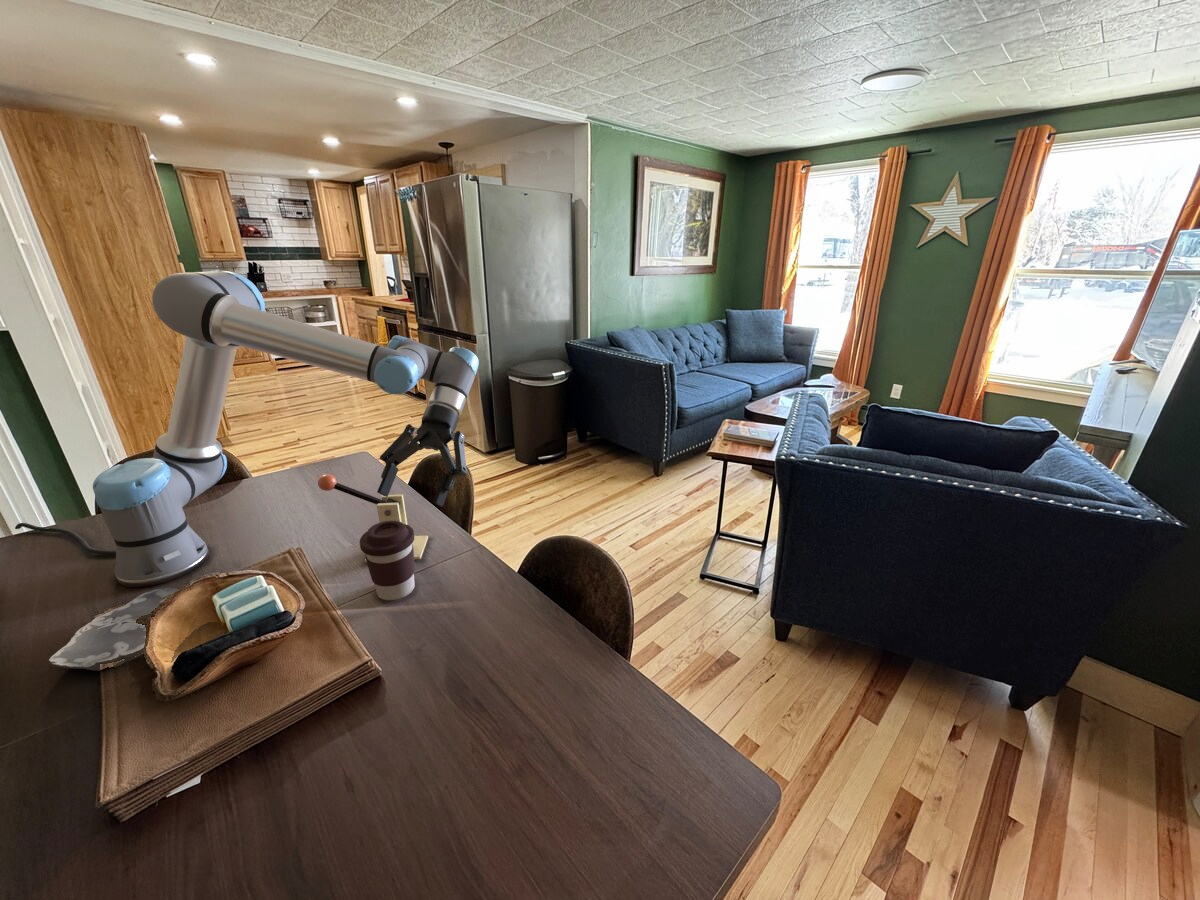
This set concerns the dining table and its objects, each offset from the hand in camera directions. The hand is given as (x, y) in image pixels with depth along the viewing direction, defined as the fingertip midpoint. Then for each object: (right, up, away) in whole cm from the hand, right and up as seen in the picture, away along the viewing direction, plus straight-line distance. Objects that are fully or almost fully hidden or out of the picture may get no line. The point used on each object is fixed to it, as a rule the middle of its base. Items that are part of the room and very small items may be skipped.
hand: (409, 499), depth 99 cm
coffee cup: (-3, -19, 0) cm, 19 cm away
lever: (-14, -1, +6) cm, 16 cm away
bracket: (-8, -14, +12) cm, 20 cm away
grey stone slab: (-43, -23, -14) cm, 51 cm away
